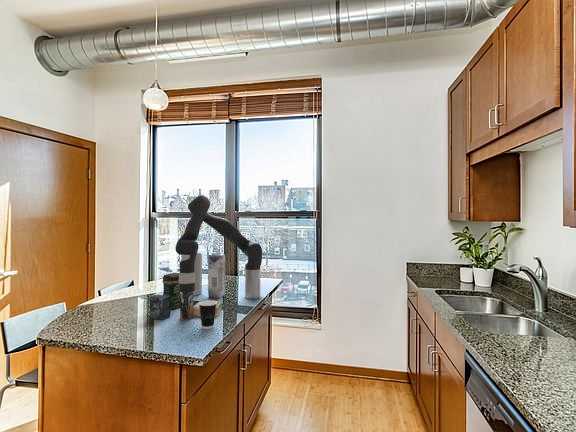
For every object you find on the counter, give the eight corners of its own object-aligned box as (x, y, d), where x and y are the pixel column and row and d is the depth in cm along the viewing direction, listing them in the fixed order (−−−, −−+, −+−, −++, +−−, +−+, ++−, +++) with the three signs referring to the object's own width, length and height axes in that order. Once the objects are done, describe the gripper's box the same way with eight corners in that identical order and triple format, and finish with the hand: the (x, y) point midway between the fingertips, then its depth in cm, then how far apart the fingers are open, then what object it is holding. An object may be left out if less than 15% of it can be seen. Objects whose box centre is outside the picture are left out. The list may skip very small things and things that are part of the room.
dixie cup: (208, 331, 142) (208, 306, 142) (194, 327, 146) (194, 303, 146) (220, 325, 149) (220, 301, 149) (207, 322, 153) (207, 299, 153)
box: (149, 318, 158) (149, 296, 158) (157, 315, 163) (157, 294, 163) (162, 320, 155) (163, 298, 155) (170, 317, 161) (170, 295, 161)
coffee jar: (170, 311, 170) (170, 275, 170) (159, 308, 174) (159, 274, 173) (184, 306, 179) (184, 272, 179) (173, 304, 182) (173, 271, 182)
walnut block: (193, 316, 162) (193, 302, 162) (190, 319, 157) (190, 305, 157) (183, 316, 162) (183, 302, 162) (179, 319, 157) (179, 305, 157)
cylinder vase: (198, 296, 200) (198, 255, 200) (178, 296, 200) (178, 255, 200) (204, 291, 212) (204, 252, 212) (185, 291, 213) (185, 252, 212)
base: (221, 309, 174) (221, 301, 174) (216, 316, 162) (216, 307, 162) (198, 308, 174) (199, 300, 174) (192, 316, 162) (192, 307, 162)
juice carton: (226, 294, 205) (226, 251, 205) (221, 298, 195) (221, 253, 194) (212, 294, 206) (212, 251, 206) (206, 298, 196) (206, 253, 195)
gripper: (190, 284, 152) (190, 321, 152) (198, 278, 166) (198, 311, 167) (174, 284, 152) (173, 321, 152) (183, 278, 166) (183, 311, 166)
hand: (186, 316), depth 159 cm, fingers closed on walnut block, 5 cm apart
